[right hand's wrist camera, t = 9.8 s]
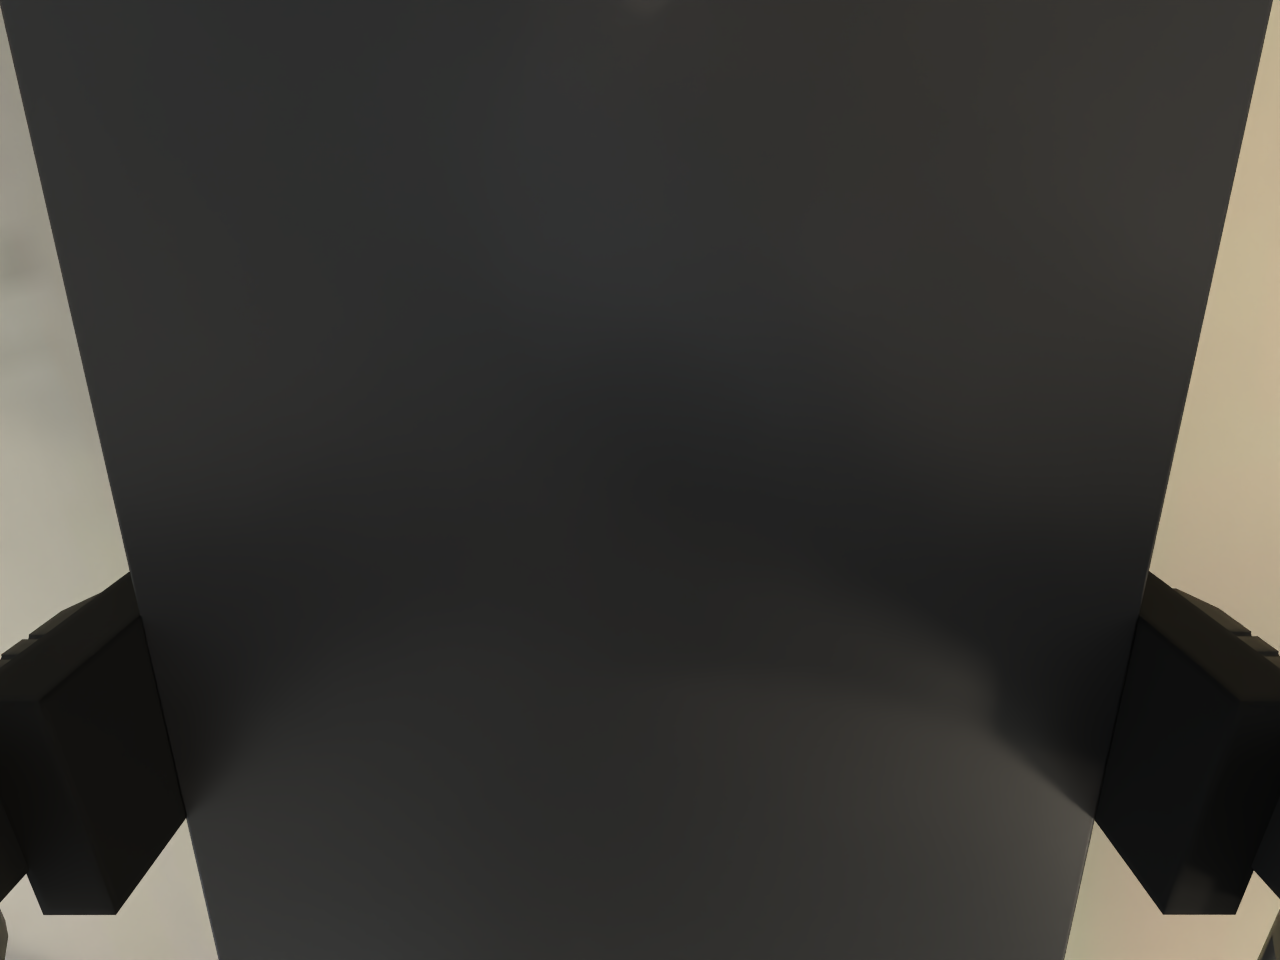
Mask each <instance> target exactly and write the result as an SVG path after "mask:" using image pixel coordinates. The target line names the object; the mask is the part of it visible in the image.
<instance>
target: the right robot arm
mask: <svg viewBox="0 0 1280 960" xmlns="http://www.w3.org/2000/svg"><path fill="white" fill-rule="evenodd" d="M1278 652H1279V651H1277V650H1276V649H1274V648H1273V647H1272V646H1270V645H1269V644H1268V643H1266V642H1265V641H1263V640H1262V639H1261V638H1259V637H1258V636H1251V631H1249V630H1248V629H1247V628H1245V627H1244V626H1242V625H1241V624H1240V623H1238V622H1237V621H1236V620H1234V619H1233V618H1231V617H1230V616H1229V615H1227V614H1226V613H1224V612H1223V611H1222V610H1220V609H1219V608H1217V607H1215V606H1212V605H1210V604H1208V603H1206V602H1204V601H1202V600H1200V599H1197V598H1195V597H1193V596H1191V595H1189V594H1187V593H1185V592H1182V591H1180V590H1178V589H1172V588H1171V587H1170V586H1168V585H1167V584H1166V583H1164V582H1163V581H1162V580H1160V579H1159V578H1158V577H1156V576H1155V575H1154V574H1152V573H1151V572H1150V571H1149V572H1148V576H1147V581H1146V585H1145V590H1144V595H1143V599H1142V604H1141V608H1140V613H1139V618H1138V622H1137V627H1136V631H1135V636H1134V641H1133V645H1132V650H1131V654H1130V659H1129V664H1128V668H1127V673H1126V677H1125V682H1124V687H1123V691H1122V696H1121V700H1120V705H1119V710H1118V714H1117V719H1116V723H1115V728H1114V732H1113V737H1112V742H1111V746H1110V751H1109V755H1108V760H1107V765H1106V769H1105V774H1104V778H1103V783H1102V788H1101V792H1100V797H1099V801H1098V806H1097V810H1096V815H1095V819H1094V820H1095V821H1096V822H1097V824H1098V825H1099V827H1100V828H1101V829H1102V831H1103V832H1104V834H1105V835H1106V836H1107V838H1108V839H1109V840H1110V842H1111V843H1112V845H1113V846H1114V847H1115V849H1116V850H1117V851H1118V853H1119V854H1120V856H1121V857H1122V858H1123V860H1124V861H1125V862H1126V864H1127V865H1128V867H1129V868H1130V869H1131V871H1132V872H1133V874H1134V875H1135V876H1136V878H1137V879H1138V880H1139V882H1140V883H1141V885H1142V886H1143V887H1144V889H1145V890H1146V891H1147V893H1148V894H1149V896H1150V897H1151V898H1152V900H1153V901H1154V903H1155V904H1156V905H1157V907H1158V908H1159V909H1160V911H1161V912H1162V914H1163V915H1235V914H1236V912H1237V910H1238V907H1239V905H1240V902H1241V900H1242V897H1243V895H1244V893H1245V890H1246V888H1247V885H1248V883H1249V881H1250V878H1251V876H1252V873H1253V871H1255V872H1256V873H1257V874H1258V875H1259V876H1260V878H1261V879H1262V880H1263V881H1264V882H1265V883H1266V884H1267V885H1268V886H1269V887H1270V889H1271V890H1272V891H1273V892H1274V893H1275V894H1276V895H1277V896H1278V897H1279V899H1280V656H1279V654H1278ZM185 819H186V814H185V810H184V806H183V801H182V797H181V793H180V788H179V784H178V779H177V775H176V771H175V766H174V762H173V758H172V753H171V749H170V744H169V740H168V736H167V731H166V727H165V723H164V718H163V714H162V709H161V705H160V701H159V696H158V692H157V688H156V683H155V679H154V675H153V670H152V666H151V661H150V657H149V653H148V648H147V644H146V639H145V635H144V630H143V626H142V621H141V617H140V613H139V609H138V605H137V600H136V596H135V591H134V587H133V583H132V578H131V574H130V572H128V573H127V574H126V575H124V576H123V577H122V578H120V579H119V580H118V581H116V582H115V583H113V584H112V585H111V586H109V587H108V588H107V589H105V590H104V591H103V592H101V593H99V594H97V595H95V596H93V597H91V598H88V599H86V600H84V601H82V602H80V603H78V604H76V605H74V606H71V607H69V608H67V609H65V610H63V611H61V612H60V613H58V614H57V615H55V616H54V617H53V618H51V619H50V620H49V621H47V622H46V623H44V624H43V625H42V626H40V627H39V628H37V629H36V630H35V631H33V632H32V633H31V634H29V639H22V640H21V641H20V642H18V643H17V644H15V645H14V646H13V647H11V648H10V649H8V650H7V651H6V652H4V653H3V654H2V657H1V660H0V902H1V901H2V900H3V899H4V898H5V897H6V895H7V894H8V893H9V892H10V891H11V890H12V889H13V888H14V887H15V885H16V884H17V883H18V882H19V881H20V880H21V879H22V878H23V877H24V875H25V874H27V876H28V879H29V881H30V883H31V886H32V888H33V891H34V893H35V895H36V898H37V900H38V903H39V905H40V907H41V910H42V912H43V915H116V914H117V913H118V911H119V910H120V908H121V907H122V906H123V904H124V903H125V901H126V900H127V899H128V897H129V896H130V895H131V893H132V892H133V890H134V889H135V888H136V886H137V885H138V884H139V882H140V881H141V879H142V878H143V877H144V875H145V874H146V873H147V871H148V870H149V868H150V867H151V866H152V864H153V863H154V861H155V860H156V859H157V857H158V856H159V855H160V853H161V852H162V850H163V849H164V848H165V846H166V845H167V844H168V842H169V841H170V839H171V838H172V837H173V835H174V834H175V832H176V831H177V830H178V828H179V827H180V826H181V824H182V823H183V821H184V820H185ZM7 941H8V933H7V927H6V922H5V919H4V917H3V914H2V912H1V910H0V960H5V953H6V947H7ZM1258 960H1280V910H1279V912H1278V914H1277V917H1276V919H1275V921H1274V923H1273V926H1272V928H1271V930H1270V932H1269V935H1268V937H1267V939H1266V942H1265V944H1264V946H1263V948H1262V951H1261V953H1260V955H1259V957H1258Z"/></svg>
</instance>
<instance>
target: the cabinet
mask: <svg viewBox="0 0 1280 960" xmlns="http://www.w3.org/2000/svg"><path fill="white" fill-rule="evenodd" d="M1272 2H1273V0H0V6H1V10H2V15H3V19H4V23H5V28H6V32H7V36H8V41H9V45H10V50H11V54H12V58H13V63H14V67H15V71H16V76H17V80H18V85H19V89H20V93H21V98H22V102H23V106H24V111H25V115H26V119H27V124H28V128H29V133H30V137H31V141H32V146H33V150H34V154H35V159H36V163H37V168H38V172H39V176H40V181H41V185H42V189H43V194H44V198H45V203H46V207H47V211H48V216H49V220H50V224H51V229H52V233H53V237H54V242H55V246H56V251H57V255H58V259H59V264H60V268H61V272H62V277H63V281H64V286H65V290H66V294H67V299H68V303H69V307H70V312H71V316H72V321H73V325H74V329H75V334H76V338H77V342H78V347H79V351H80V355H81V360H82V364H83V369H84V373H85V377H86V382H87V386H88V390H89V395H90V399H91V404H92V408H93V412H94V417H95V421H96V425H97V430H98V434H99V439H100V443H101V447H102V452H103V456H104V460H105V465H106V469H107V473H108V478H109V482H110V487H111V491H112V495H113V500H114V504H115V508H116V513H117V517H118V522H119V526H120V530H121V535H122V539H123V543H124V548H125V552H126V557H127V561H128V565H129V570H130V574H131V578H132V583H133V587H134V591H135V596H136V600H137V605H138V609H139V613H140V617H141V621H142V626H143V630H144V635H145V639H146V644H147V648H148V653H149V657H150V661H151V666H152V670H153V675H154V679H155V683H156V688H157V692H158V696H159V701H160V705H161V709H162V714H163V718H164V723H165V727H166V731H167V736H168V740H169V744H170V749H171V753H172V758H173V762H174V766H175V771H176V775H177V779H178V784H179V788H180V793H181V797H182V801H183V806H184V810H185V814H186V819H187V823H188V827H189V832H190V836H191V841H192V845H193V849H194V854H195V858H196V862H197V867H198V871H199V876H200V880H201V884H202V889H203V893H204V897H205V902H206V906H207V911H208V915H209V919H210V924H211V928H212V932H213V937H214V941H215V945H216V950H217V954H218V959H219V960H1064V958H1065V953H1066V948H1067V944H1068V939H1069V935H1070V930H1071V925H1072V921H1073V916H1074V912H1075V907H1076V903H1077V898H1078V893H1079V889H1080V884H1081V880H1082V875H1083V870H1084V866H1085V861H1086V857H1087V852H1088V847H1089V843H1090V838H1091V834H1092V829H1093V824H1094V819H1095V815H1096V810H1097V806H1098V801H1099V797H1100V792H1101V788H1102V783H1103V778H1104V774H1105V769H1106V765H1107V760H1108V755H1109V751H1110V746H1111V742H1112V737H1113V732H1114V728H1115V723H1116V719H1117V714H1118V710H1119V705H1120V700H1121V696H1122V691H1123V687H1124V682H1125V677H1126V673H1127V668H1128V664H1129V659H1130V654H1131V650H1132V645H1133V641H1134V636H1135V631H1136V627H1137V622H1138V618H1139V613H1140V608H1141V604H1142V599H1143V595H1144V590H1145V585H1146V581H1147V576H1148V572H1149V567H1150V562H1151V558H1152V553H1153V549H1154V544H1155V539H1156V535H1157V530H1158V526H1159V521H1160V517H1161V512H1162V507H1163V503H1164V498H1165V494H1166V489H1167V484H1168V480H1169V475H1170V471H1171V466H1172V461H1173V457H1174V452H1175V448H1176V443H1177V438H1178V434H1179V429H1180V425H1181V420H1182V415H1183V411H1184V406H1185V402H1186V397H1187V392H1188V388H1189V383H1190V379H1191V374H1192V369H1193V365H1194V360H1195V356H1196V351H1197V346H1198V342H1199V337H1200V333H1201V328H1202V324H1203V319H1204V314H1205V310H1206V305H1207V301H1208V296H1209V291H1210V287H1211V282H1212V278H1213V273H1214V268H1215V264H1216V259H1217V255H1218V250H1219V245H1220V241H1221V236H1222V232H1223V227H1224V222H1225V218H1226V213H1227V209H1228V204H1229V199H1230V195H1231V190H1232V186H1233V181H1234V176H1235V172H1236V167H1237V163H1238V158H1239V153H1240V149H1241V144H1242V140H1243V135H1244V130H1245V126H1246V121H1247V117H1248V112H1249V108H1250V103H1251V98H1252V94H1253V89H1254V85H1255V80H1256V75H1257V71H1258V66H1259V62H1260V57H1261V52H1262V48H1263V43H1264V39H1265V34H1266V29H1267V25H1268V20H1269V16H1270V11H1271V6H1272Z"/></svg>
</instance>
